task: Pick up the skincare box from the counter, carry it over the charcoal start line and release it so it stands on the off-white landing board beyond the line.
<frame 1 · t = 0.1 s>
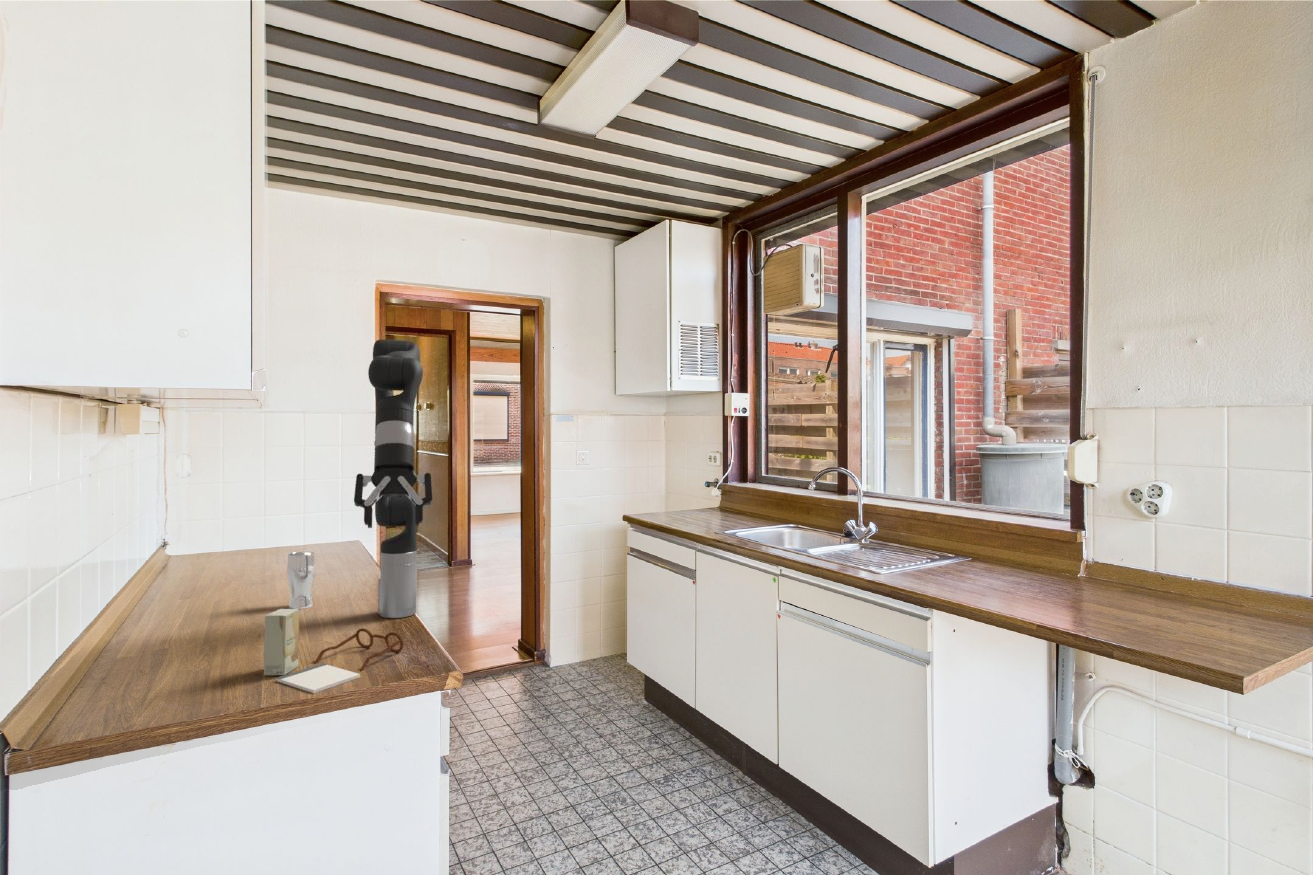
hand: (393, 526, 131), 31 cm above the counter, tool tilted 20°, fingers open, 8 cm apart
skincare box: (281, 671, 140), on the counter
beer glass: (300, 607, 192), on the counter
glasses: (359, 660, 149), on the counter
landing board: (318, 679, 136), on the counter
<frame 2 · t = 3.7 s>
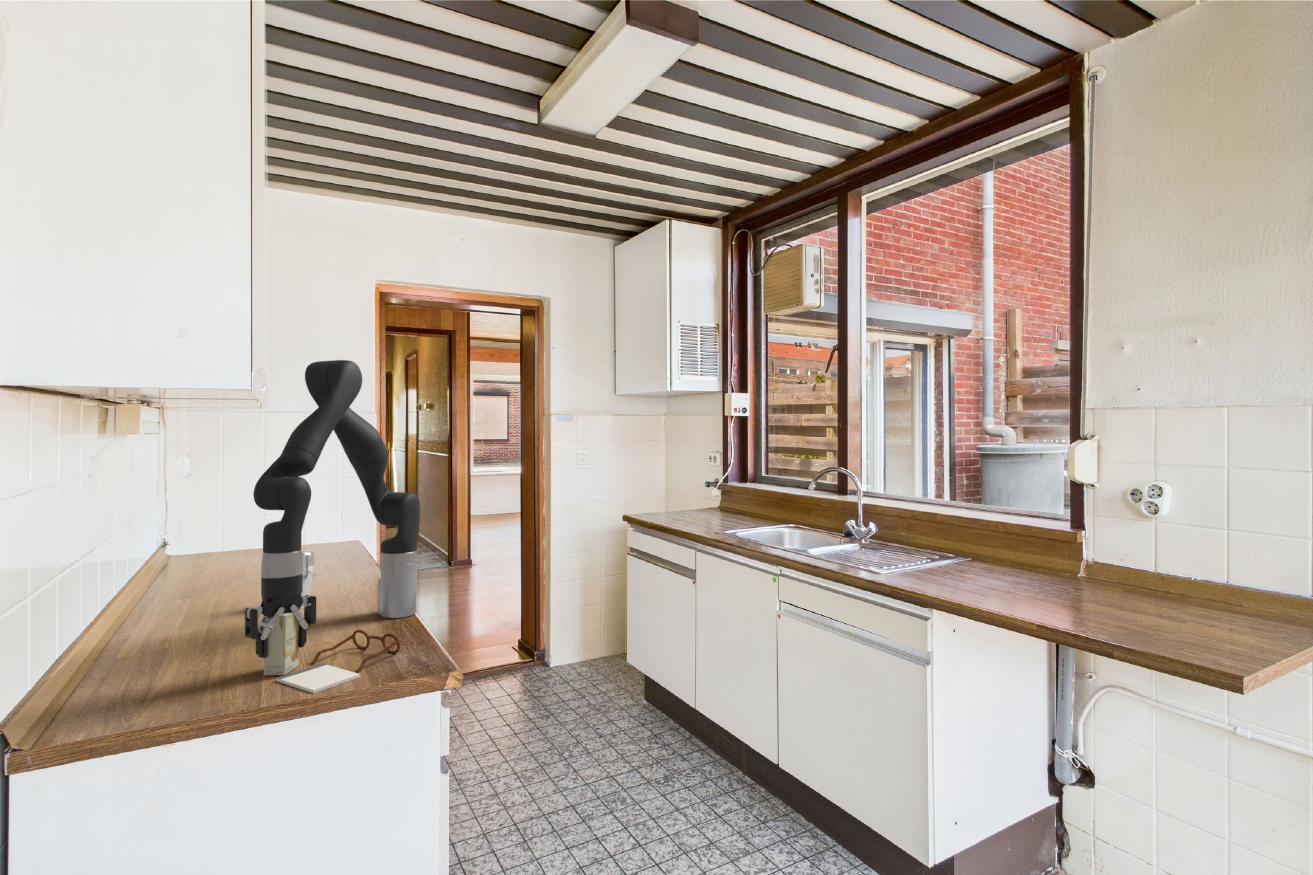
hand: (281, 651, 140), 4 cm above the counter, tool pointing down, fingers closed on skincare box, 7 cm apart
skincare box: (281, 671, 140), on the counter, touching gripper
glasses: (356, 662, 148), on the counter
everything else where it was.
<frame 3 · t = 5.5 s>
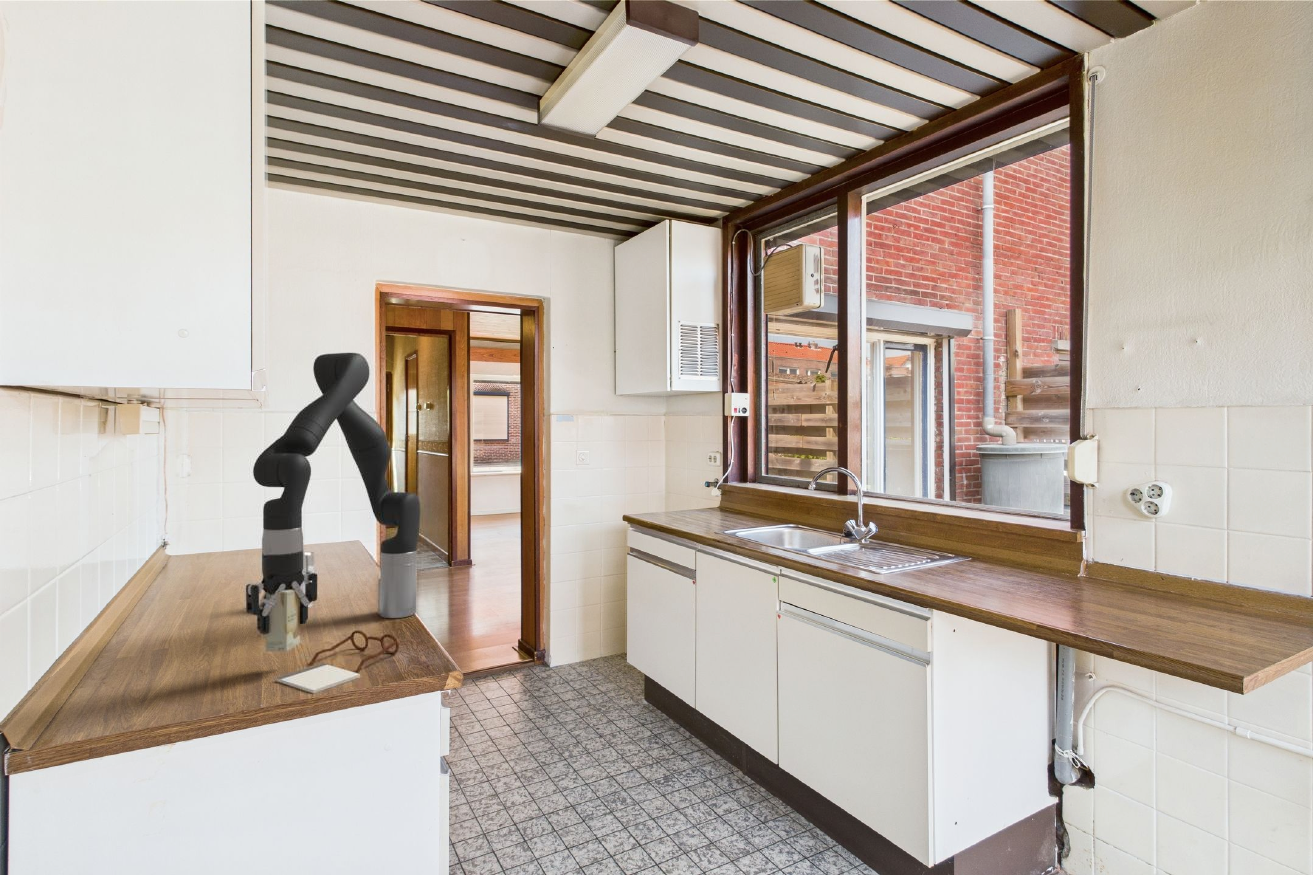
hand: (283, 628, 140), 9 cm above the counter, tool pointing down, fingers closed on skincare box, 7 cm apart
skincare box: (283, 648, 141), point 5 cm above the counter, touching gripper
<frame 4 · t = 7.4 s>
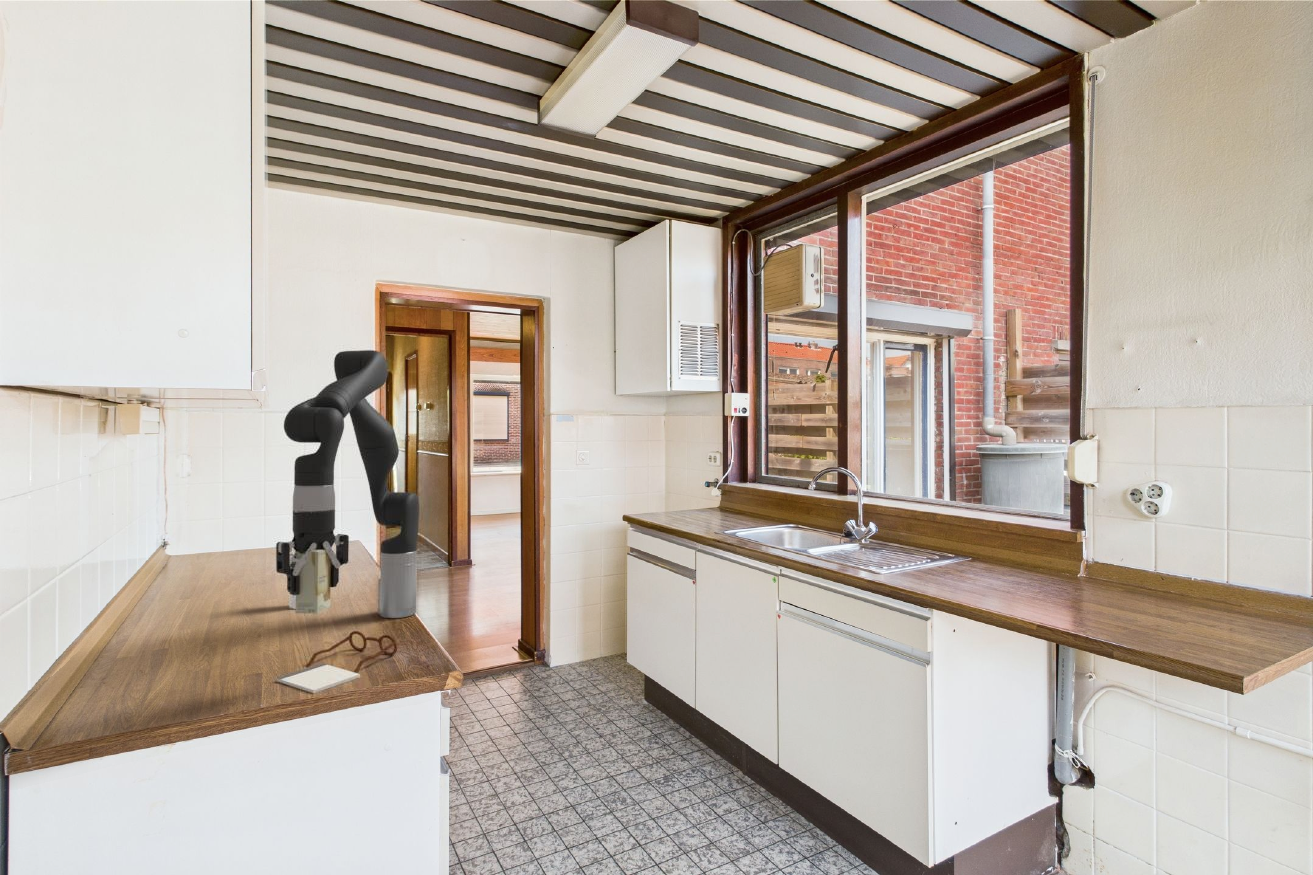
hand: (313, 590, 134), 18 cm above the counter, tool pointing down, fingers closed on skincare box, 7 cm apart
skincare box: (313, 611, 134), point 14 cm above the counter, touching gripper
glasses: (352, 663, 147), on the counter, touching landing board
everything else where it was.
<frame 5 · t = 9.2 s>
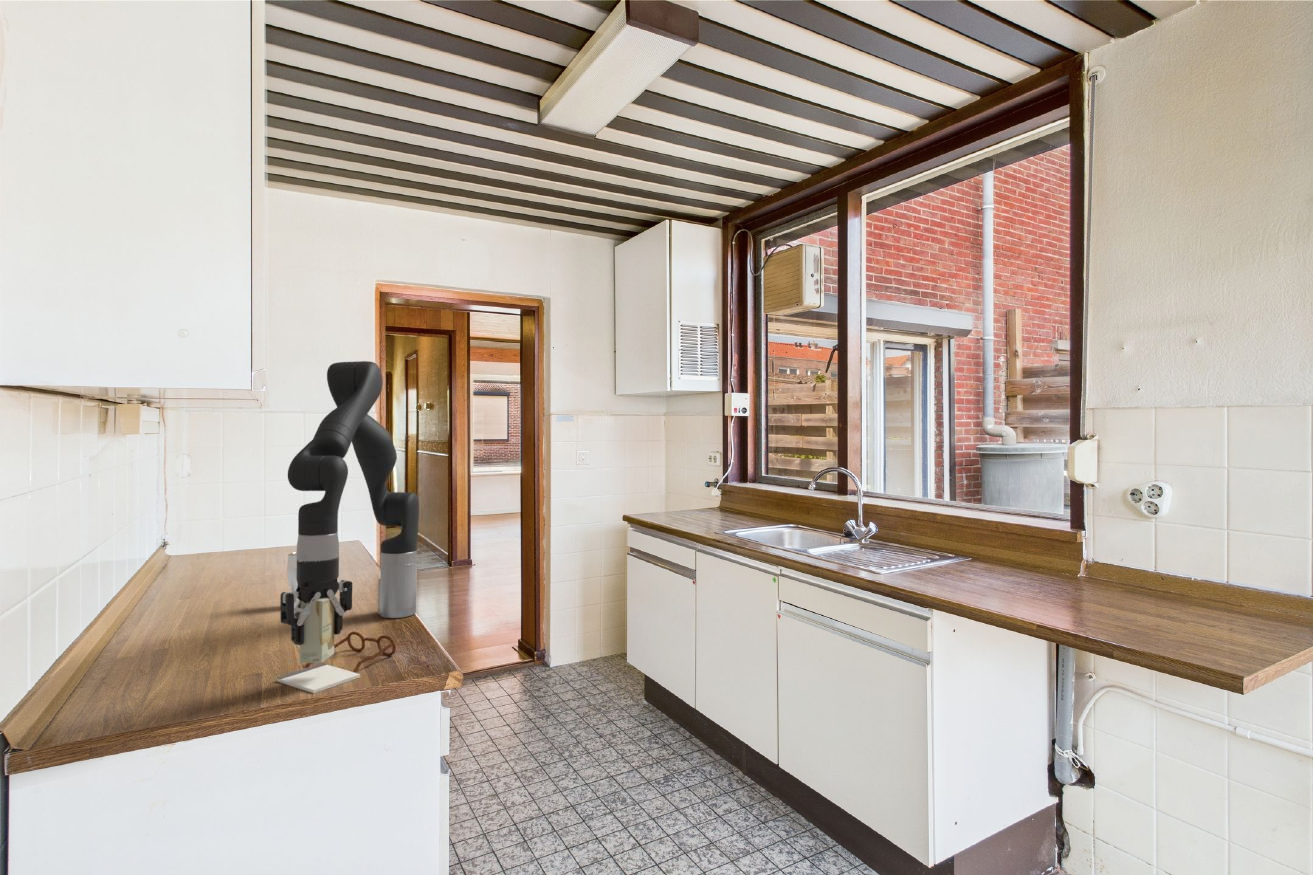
hand: (317, 638, 134), 9 cm above the counter, tool pointing down, fingers closed on skincare box, 7 cm apart
skincare box: (317, 659, 134), point 4 cm above the counter, touching gripper
when the fingers open (6 cm above the counter, at t = 10.9 s): skincare box drops 1 cm, resting on landing board.
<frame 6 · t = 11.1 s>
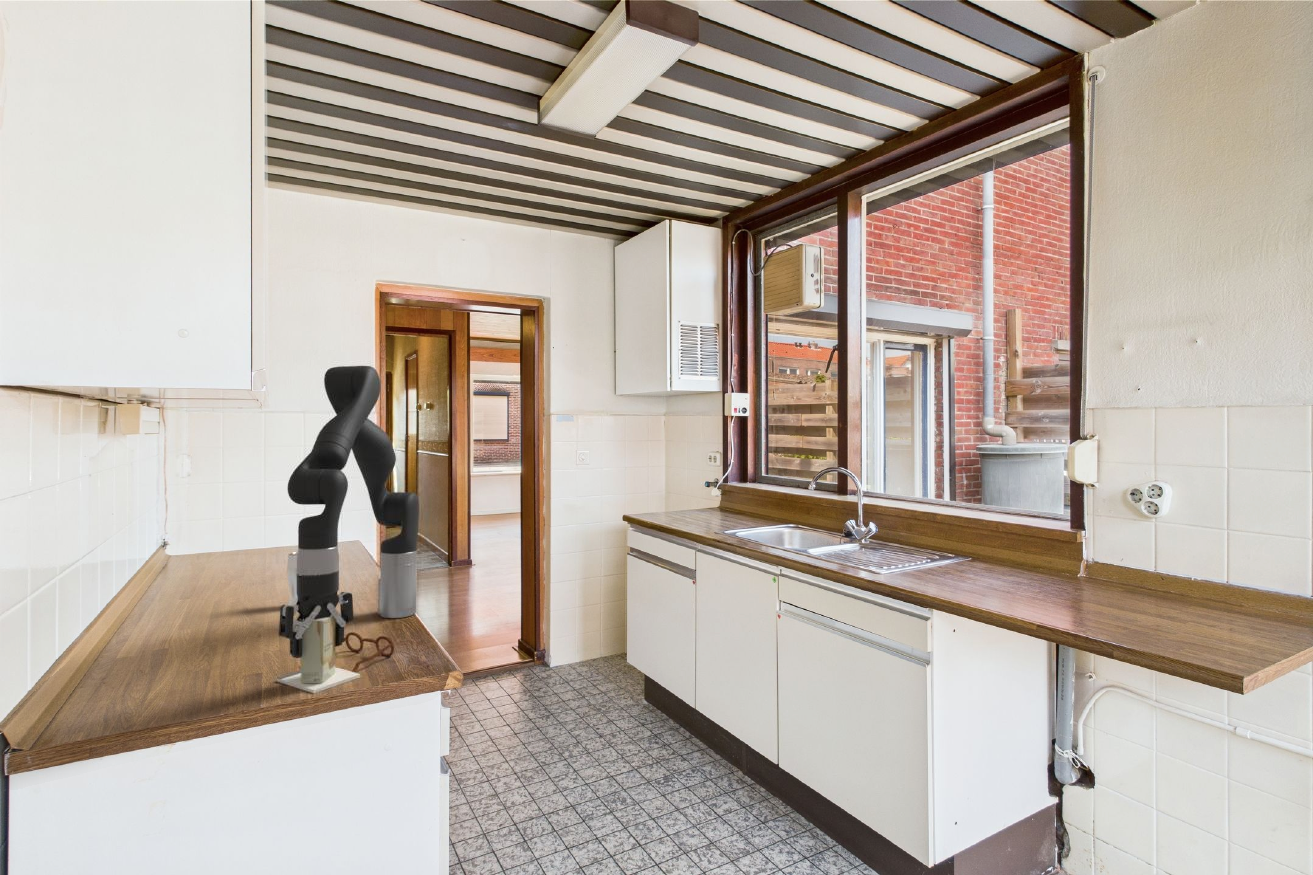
hand: (317, 651, 134), 6 cm above the counter, tool pointing down, fingers open, 8 cm apart
skincare box: (318, 678, 134), resting on landing board, touching gripper
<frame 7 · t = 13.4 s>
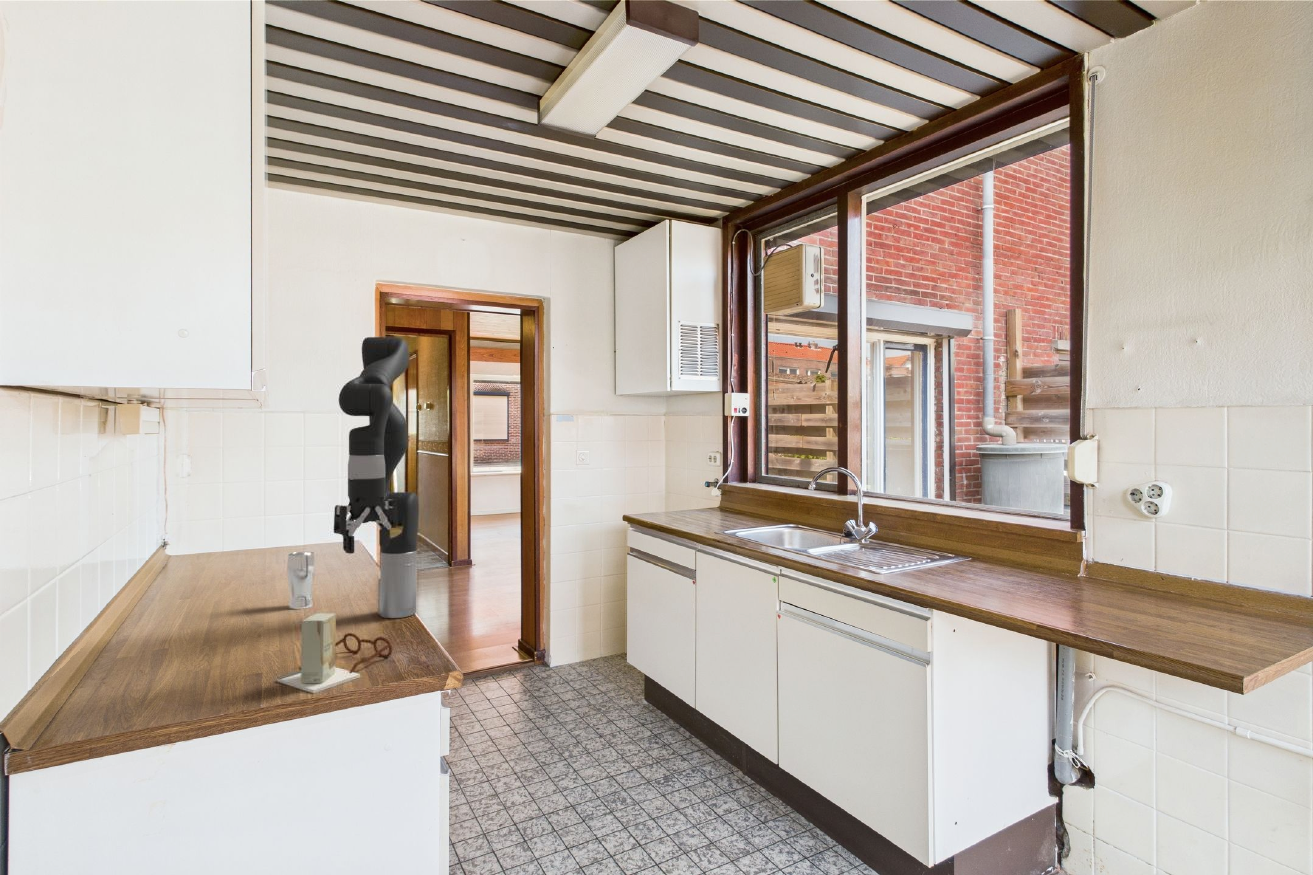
hand: (367, 549, 148), 24 cm above the counter, tool pointing down, fingers open, 8 cm apart
skincare box: (318, 678, 134), resting on landing board
glasses: (347, 666, 145), on the counter
everything else where it was.
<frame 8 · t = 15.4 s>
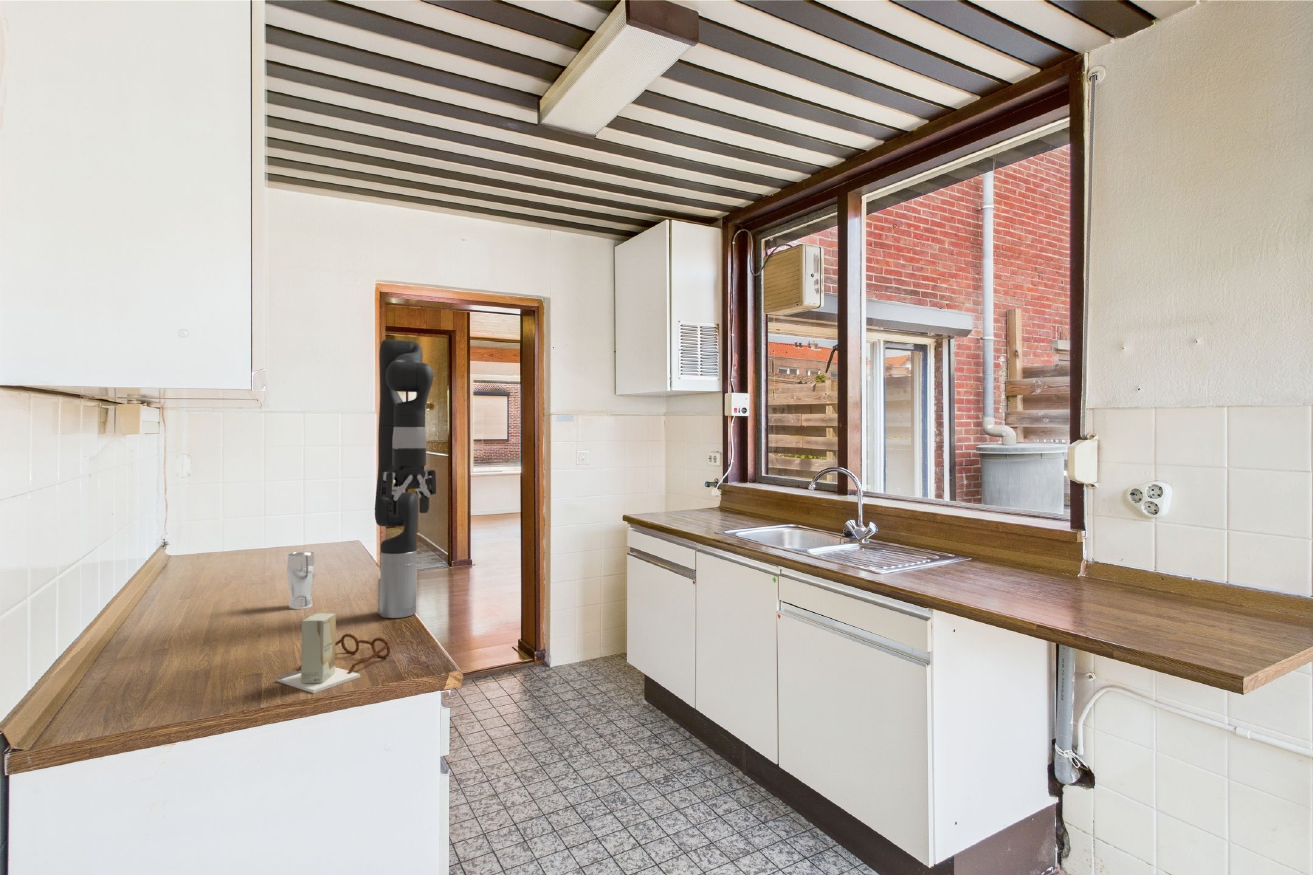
hand: (409, 514, 160), 30 cm above the counter, tool pointing down, fingers open, 8 cm apart
glasses: (345, 667, 144), on the counter, touching landing board
everything else where it was.
at the end: skincare box inside the target area (0.9 cm from its centre), resting on landing board; skincare box tilted 0°; the gripper is holding nothing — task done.
